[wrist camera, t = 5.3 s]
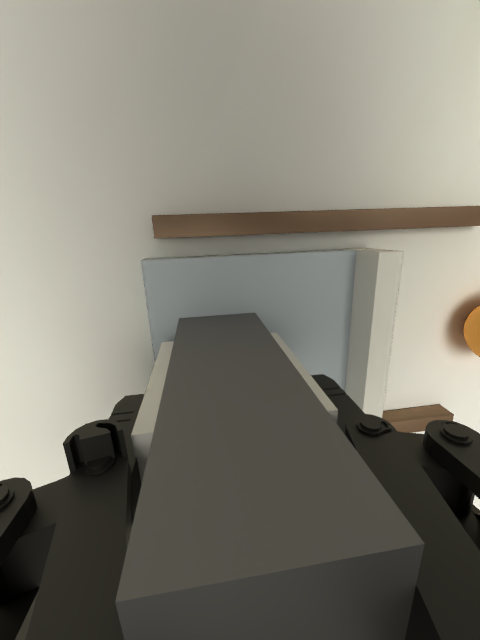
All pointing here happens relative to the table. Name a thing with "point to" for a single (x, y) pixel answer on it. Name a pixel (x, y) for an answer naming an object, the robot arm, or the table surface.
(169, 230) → the rails
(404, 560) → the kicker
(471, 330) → the ball
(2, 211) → the table surface
